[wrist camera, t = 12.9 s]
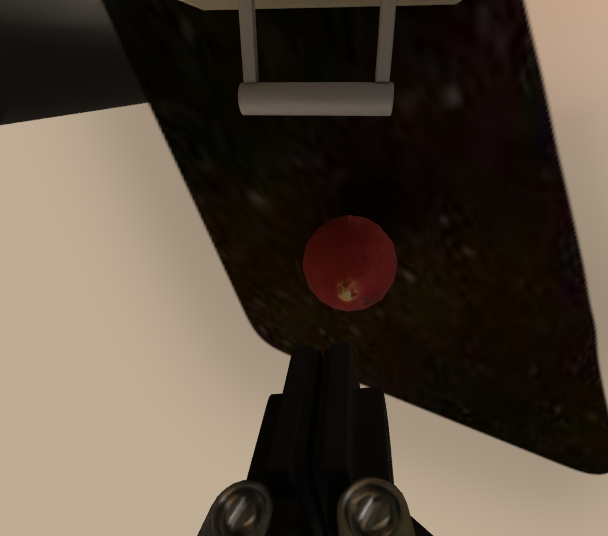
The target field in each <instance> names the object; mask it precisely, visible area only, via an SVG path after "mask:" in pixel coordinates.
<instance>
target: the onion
mask: <svg viewBox="0 0 608 536" xmlns="http://www.w3.org/2000/svg"><path fill="white" fill-rule="evenodd" d="M396 268H397V258H396V254H395V250H394V246H393V242H392V241H391V240H390V239H389V237H388V236H387V235H386V233H385V232H384V231H383V230H382V228H381V227H380V226H379V225H377V224H376V223H374V222H372V221H370V220H369V219H367V218H364V217H358V216H352V215H346V216H342V217H338V218H334V219H331V220H329V221H328V222H326V223H325V224H323V225H322V226H321V227H319V228H318V229H317V230H316V232H315V233H314V235H313V236H312V238H311V239H310V240H309V242H308V243H307V245H306V247H305V254H304V260H303V270H304V273H305V276H306V280H307V283H308V286H309V287H310V289H311V290H312V291H313V292H314V294H315V295H316V296H317V297H318V299H320V300H321V301H323V302H324V303H326V304H327V305H329V306H331V307H332V308H335V309H340V310H344V311H354V310H361V309H365V308H367V307H369V306H371V305H372V304H374V303H376V302H378V301H380V300H381V299H382V298H383V297H384V295H385V294H386V292H387V291H388V289H389V288H390V286H391V285H392V283H393V282H394V279H395V274H396Z"/></svg>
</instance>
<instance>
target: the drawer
mask: <svg viewBox="0 0 608 536" xmlns="http://www.w3.org/2000/svg"><path fill="white" fill-rule="evenodd" d="M179 1H182V2H184V3H187V4H189V5H192V6H195V7H197V8H200V9H202V10H232V9H239V20H240V35H241V49H242V64H243V79H244V83H241V84H240V86H239V91H238V100H239V107H240V111H241V113H242V114H243V115H345V116H390V115H391V112H392V106H393V94H394V84H393V83H392V82H389V80H390V68H391V56H392V45H393V33H394V21H395V9H396V6H403V5H446V4H457V3H458V2H460V1H461V0H179ZM360 6H380V19H379V34H378V48H377V62H376V76H375V82H312V83H258V82H259V75H258V56H257V37H256V18H255V9H275V8H318V7H360Z"/></svg>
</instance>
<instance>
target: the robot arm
mask: <svg viewBox="0 0 608 536" xmlns="http://www.w3.org/2000/svg"><path fill="white" fill-rule="evenodd" d="M197 536H433V535H432V534H431V533H430V532H428V531H427V530H426V529H425V528H424V527H423V526H422V525H420V524H419V523H418V522H417V521H416V520H415V519H414V518H413V517H411V516H410V513H409V509H408V506H407V503H406V500H405V498H404V496H403V494H402V493H401V492H400V490H399V489H398V488H397V487H396V486H395V485H394V479H393V468H392V457H391V446H390V435H389V426H388V417H387V411H386V403H385V397H384V391H383V387H370V388H360V384H359V379H358V374H357V369H356V364H355V358H354V353H353V348H352V344H351V342H340V343H332V345H331V348H330V349H325V352H324V361H323V357H322V353H321V350H320V349H319V350H315V349H314V347H313V345H308V346H297V347H294V348H293V350H292V355H291V360H290V363H289V368H288V372H287V376H286V381H285V385H284V389H283V394H271V395H270V397H269V399H268V402H267V406H266V410H265V413H264V417H263V421H262V424H261V428H260V432H259V435H258V439H257V443H256V446H255V451H254V454H253V458H252V461H251V465H250V469H249V472H248V476H247V480H243V481H240V482H237V483H234V484H232V485H231V486H229V487H227V488H226V489H225V490H224V491H222V492H221V494H219V496H217V498H216V500H215V501H214V503H213V505H212V506H211V508H210V510H209V512H208V514H207V516H206V519H205V521H204V523H203V525H202V527H201V529H200V531H199V533H198V535H197Z"/></svg>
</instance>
